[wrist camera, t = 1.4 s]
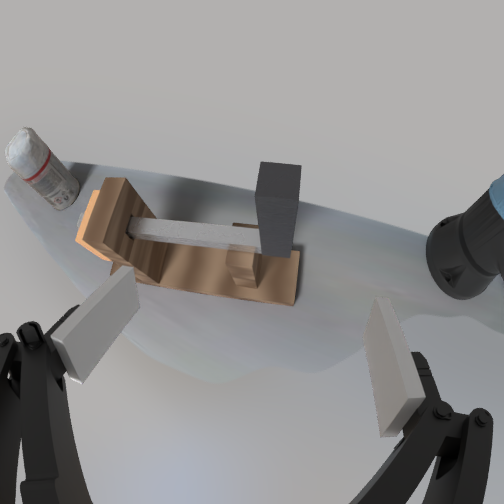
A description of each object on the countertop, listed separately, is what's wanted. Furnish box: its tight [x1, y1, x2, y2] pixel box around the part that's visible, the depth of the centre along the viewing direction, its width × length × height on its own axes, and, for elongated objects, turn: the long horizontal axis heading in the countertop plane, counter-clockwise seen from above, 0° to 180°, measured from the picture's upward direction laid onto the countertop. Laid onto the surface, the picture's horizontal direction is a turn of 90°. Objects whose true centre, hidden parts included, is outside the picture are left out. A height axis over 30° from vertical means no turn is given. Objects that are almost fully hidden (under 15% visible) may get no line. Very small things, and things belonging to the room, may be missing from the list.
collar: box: [75, 190, 111, 261], centre depth 35 cm, size 2×7×7 cm, turn 171°
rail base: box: [82, 178, 300, 306], centre depth 37 cm, size 30×8×19 cm, turn 81°
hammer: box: [76, 162, 301, 258], centre depth 28 cm, size 28×3×13 cm, turn 81°
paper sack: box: [5, 128, 80, 210], centre depth 45 cm, size 8×8×20 cm
